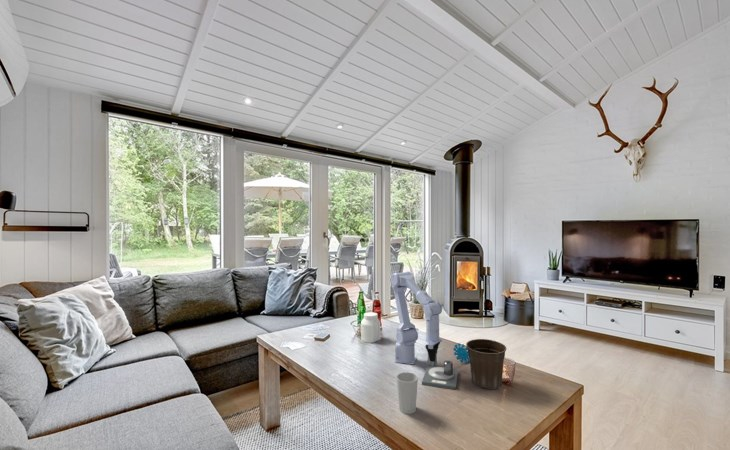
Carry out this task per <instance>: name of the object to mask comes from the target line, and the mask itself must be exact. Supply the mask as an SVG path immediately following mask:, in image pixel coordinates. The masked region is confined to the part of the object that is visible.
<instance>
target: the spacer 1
mask: <svg viewBox="0 0 730 450" xmlns="http://www.w3.org/2000/svg"><path fill="white" fill-rule="evenodd" d="M437 362H438V352H437V353H436V358H435V362H432V361H430V359H429V355H428V354H427V366H430V367H437V365H438V363H437Z"/></svg>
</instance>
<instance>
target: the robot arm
mask: <svg viewBox="0 0 730 450" xmlns="http://www.w3.org/2000/svg"><path fill="white" fill-rule="evenodd" d="M414 279H415V278H414V274H412V272H411V271H405V272H393V273H392V274H391V277H390V283H391V288H392V290H393V293H394V298H395V305H396V310H397V315H398V320H399V321H398V322H399V324H398V326H396V328H395V329H396V343H395V349H394V351H395V355H394V357H395V360H394V362H395V363H400V364H407V365H414V364H416V360H417V359H418V357H416V355H415V354H416V353H415V352H416V351H415V348H416V347H415V346H416V343H417V340H418V339H419V333H418V330H417V329H416V325H415V324H414V323H412V322H411V319H410V318H411V317H410V313H409V308H408V304H407V299H406V294H405V290H406V289H407V288H408V289H409V290H410V291H411V292H412V293H413V294H414V295H415V300H416V301H417V302H418V303H419V304H420V306H421V307H422V309H423V313H424V318H425V321H426V322H425V325H426V326H425V327H426V332H425V333H426V339H425V341H426V342H427V344H425V346H424V347H425V349H426V352H427V356H428V355H429V359H430V361H432V362H435V358H436V353H437V354H438V349H439V346H440V344H441V342H443V338H440V314H441V313H442V312H443V309H442V308H443V306H442V305H441V303H440V302H439V301H436V300H433V298H432V297H431V296H430V295H429V294H428V292H427V291H426V290H422V289H421V288H420V287H419V285H418V284H417V283H416V281H415V280H414Z"/></svg>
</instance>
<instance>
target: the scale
mask: <svg viewBox="0 0 730 450" xmlns="http://www.w3.org/2000/svg"><path fill="white" fill-rule="evenodd" d="M458 378H459V370H458V369H453V375H451V376H447V375H445V374H444V366H442V367H441V366H429V365H427V367H426V370H425V372H424V376H423V377H422V380H421V385H422V386H430V387H435V388H441V389H442V388H443V389H447V390H449V389H450V390H457V383H458Z"/></svg>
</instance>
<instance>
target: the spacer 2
mask: <svg viewBox="0 0 730 450" xmlns="http://www.w3.org/2000/svg"><path fill="white" fill-rule="evenodd" d="M443 368H444V374H445V375H447V376H451V375H453V370H454V362H453V361H452V360H444V361H443Z"/></svg>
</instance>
